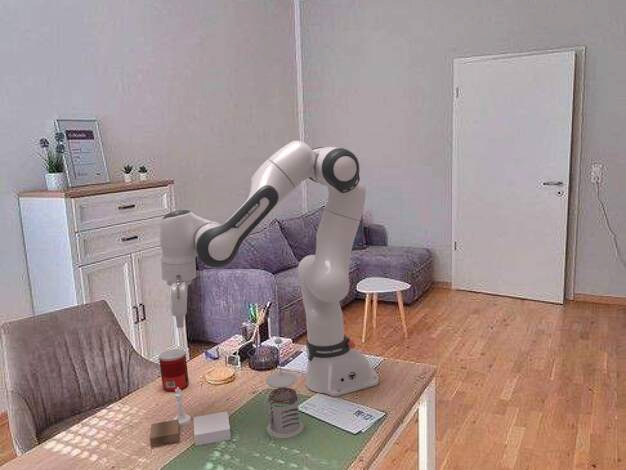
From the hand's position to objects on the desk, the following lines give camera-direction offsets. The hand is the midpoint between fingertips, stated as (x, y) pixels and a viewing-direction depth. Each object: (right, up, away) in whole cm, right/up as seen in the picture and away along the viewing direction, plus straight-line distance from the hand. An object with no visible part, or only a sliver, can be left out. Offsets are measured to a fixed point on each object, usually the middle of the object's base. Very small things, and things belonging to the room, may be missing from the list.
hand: (180, 320), depth 143 cm
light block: (+10, -29, -5) cm, 31 cm away
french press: (+28, -28, -5) cm, 40 cm away
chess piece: (0, -28, +2) cm, 28 cm away
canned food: (-7, -25, +23) cm, 34 cm away
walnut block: (-3, -30, -5) cm, 31 cm away
